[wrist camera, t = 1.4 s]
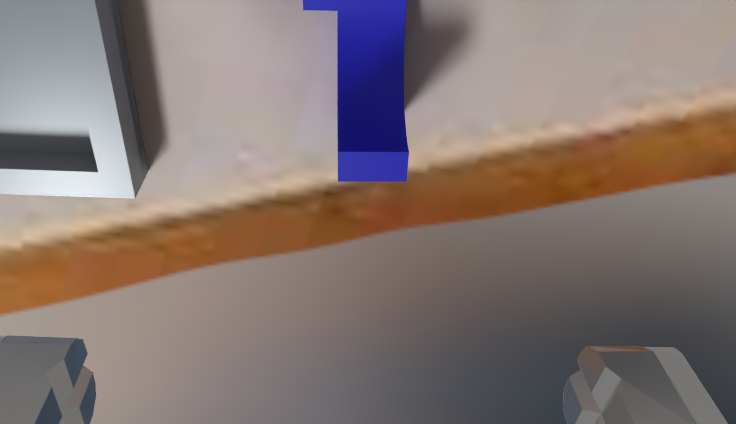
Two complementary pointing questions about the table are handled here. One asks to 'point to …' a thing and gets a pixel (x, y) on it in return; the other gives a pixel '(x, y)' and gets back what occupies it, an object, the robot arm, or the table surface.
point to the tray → (67, 101)
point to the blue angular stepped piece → (370, 88)
